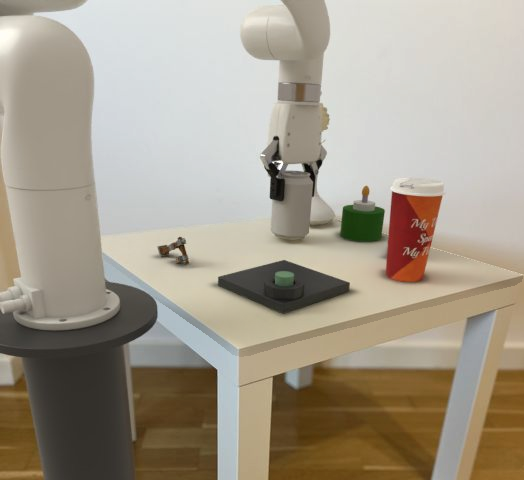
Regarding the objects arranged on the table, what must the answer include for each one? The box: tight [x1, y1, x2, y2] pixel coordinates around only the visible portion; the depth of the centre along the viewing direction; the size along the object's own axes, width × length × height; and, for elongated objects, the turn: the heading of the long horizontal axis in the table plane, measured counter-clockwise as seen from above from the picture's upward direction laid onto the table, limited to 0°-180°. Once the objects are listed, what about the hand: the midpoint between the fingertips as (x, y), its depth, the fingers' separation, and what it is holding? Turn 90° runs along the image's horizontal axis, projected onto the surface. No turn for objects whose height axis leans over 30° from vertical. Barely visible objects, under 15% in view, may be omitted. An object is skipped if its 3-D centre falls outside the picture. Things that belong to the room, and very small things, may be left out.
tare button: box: [275, 271, 294, 286], centre depth 76 cm, size 3×3×2 cm
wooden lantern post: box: [156, 236, 190, 265], centre depth 92 cm, size 2×8×4 cm, turn 39°
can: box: [270, 169, 313, 240], centre depth 104 cm, size 8×8×12 cm
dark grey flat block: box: [217, 259, 351, 314], centre depth 82 cm, size 14×14×3 cm
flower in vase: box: [309, 102, 336, 226], centre depth 115 cm, size 13×11×25 cm
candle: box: [339, 185, 386, 243], centre depth 109 cm, size 8×8×10 cm
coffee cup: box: [385, 177, 446, 283], centre depth 86 cm, size 8×8×15 cm
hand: (292, 197), depth 103 cm, fingers closed on can, 7 cm apart
